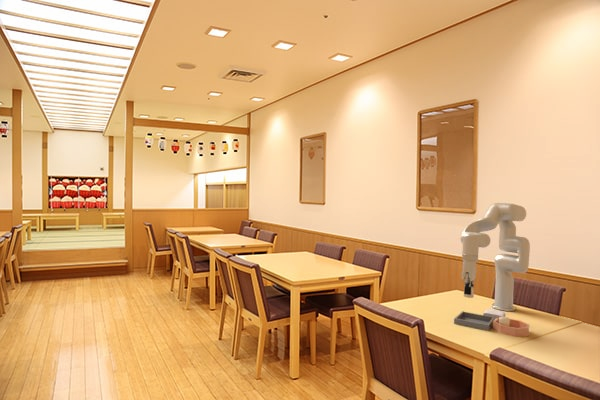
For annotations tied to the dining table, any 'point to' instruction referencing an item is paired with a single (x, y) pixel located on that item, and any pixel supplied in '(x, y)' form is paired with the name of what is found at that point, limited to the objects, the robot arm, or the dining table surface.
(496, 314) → the charger
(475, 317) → the parts tray
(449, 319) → the dining table surface
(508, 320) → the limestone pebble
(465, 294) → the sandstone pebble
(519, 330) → the bowl
